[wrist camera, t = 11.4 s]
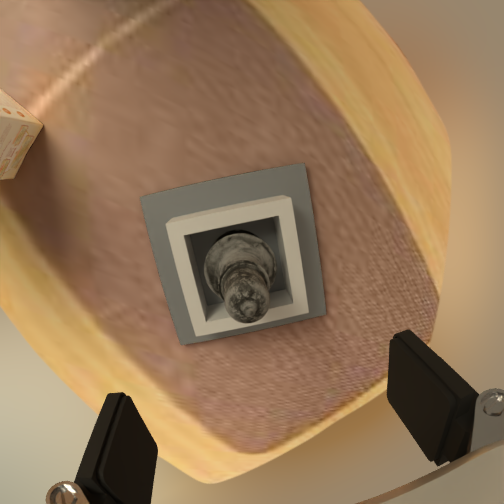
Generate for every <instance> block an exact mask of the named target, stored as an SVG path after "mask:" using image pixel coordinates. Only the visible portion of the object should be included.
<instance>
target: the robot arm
mask: <svg viewBox="0 0 504 504" xmlns="http://www.w3.org/2000/svg"><path fill="white" fill-rule="evenodd" d="M387 398H388V401H389V403H390V404H391V406H392V407H393V408H394V410H395V411H396V413H397V414H398V416H399V417H400V419H401V420H402V422H403V423H404V425H405V426H406V427H407V429H408V430H409V432H410V433H411V435H412V436H413V438H414V439H415V441H416V442H417V444H418V445H419V447H420V448H421V450H422V451H423V452H424V454H425V456H426V457H427V459H428V460H429V461H434V462H435V463H436V465H437V466H440V465H442V464H443V463H445V462H447V461H449V462H450V463H449V464H448V465H446V466H443V467H441V468H440V469H438V470H436V471H434V472H431V473H429V474H428V475H425V476H423V477H421V478H419V479H417V480H414V481H412V482H410V483H408V484H406V485H403V486H401V487H398V488H396V489H394V490H391V491H389V492H387V493H384V494H382V495H379V496H376V497H373V498H371V499H368V500H365V501H362V502H360V503H356V504H504V390H502V389H496V388H495V389H489V390H486V391H484V392H482V393H481V394H480V395H479V394H478V393H477V392H476V391H475V390H474V389H473V388H472V387H471V386H470V385H469V384H468V383H467V382H466V381H465V380H464V379H463V378H462V377H461V376H460V375H459V374H458V373H457V372H455V371H454V370H453V369H452V368H451V367H450V366H449V365H448V364H447V363H446V362H445V361H444V360H443V359H442V358H441V357H439V356H438V355H437V354H436V353H435V352H434V351H433V350H431V349H430V348H429V347H428V346H427V345H426V344H425V343H424V342H423V341H422V340H421V339H420V338H418V337H417V336H416V335H415V334H414V333H413V332H412V331H411V330H405V331H402V332H399V333H396V334H395V335H394V336H393V339H391V340H390V346H389V369H388V384H387ZM157 455H158V448H157V444H156V442H155V441H154V439H153V437H152V436H151V434H150V432H149V430H148V429H147V427H146V425H145V423H144V421H143V420H142V418H141V416H140V414H139V412H138V410H137V408H136V407H135V405H134V403H133V401H132V399H131V397H130V396H126V394H125V393H123V392H120V393H109V394H108V395H107V397H106V399H105V402H104V404H103V406H102V409H101V411H100V414H99V416H98V419H97V422H96V424H95V426H94V429H93V432H92V434H91V437H90V439H89V442H88V445H87V448H86V450H85V453H84V455H83V458H82V461H81V464H80V467H79V470H78V472H77V475H76V478H75V481H74V483H73V482H70V481H62V482H59V483H57V484H55V485H54V486H52V487H51V488H50V489H49V491H48V493H47V495H46V504H151V497H152V489H153V481H154V475H155V468H156V461H157Z"/></svg>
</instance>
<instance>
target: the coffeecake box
mask: <svg viewBox="0 0 504 504" xmlns="http://www.w3.org/2000/svg"><path fill="white" fill-rule="evenodd" d="M42 127H43V124H42V123H41V122H39V121H38V120H37V119H36V118H35V117H34V116H33V115H31V114H30V113H29V112H28V111H27V110H26V109H24V108H23V107H22V106H21V105H20V104H18V103H17V102H16V101H15V100H13V99H12V98H11V97H10V96H9V95H8V94H7V93H5V92H4V91H3V90H2V89H1V88H0V180H4V179H14V178H15V176H16V174H17V172H18V170H19V168H20V166H21V164H22V162H23V159H24V157H25V155H26V153H27V152H28V150H29V148H30V147H31V145H32V144H33V142H34V140H35V139H36V137H37V135H38V134H39V132H40V130H41V129H42Z"/></svg>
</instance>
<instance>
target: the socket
mask: <svg viewBox="0 0 504 504" xmlns="http://www.w3.org/2000/svg"><path fill="white" fill-rule="evenodd" d="M140 201H141V205H142V210H143V214H144V218H145V222H146V227H147V231H148V235H149V239H150V243H151V246H152V250H153V254H154V258H155V262H156V265H157V269H158V273H159V276H160V280H161V283H162V287H163V290H164V293H165V297H166V300H167V304H168V307H169V310H170V313H171V317H172V320H173V323H174V326H175V329H176V332H177V335H178V338H179V341H180V344H181V345H185V344H191V343H197V342H202V341H208V340H213V339H219V338H224V337H229V336H234V335H239V334H244V333H248V332H253V331H258V330H262V329H267V328H271V327H276V326H280V325H285V324H289V323H293V322H297V321H302V320H306V319H310V318H314V317H318V316H322V315H326V306H325V297H324V289H323V280H322V272H321V265H320V257H319V250H318V243H317V236H316V229H315V222H314V216H313V209H312V203H311V197H310V191H309V185H308V179H307V173H306V168H305V163H300V164H294V165H288V166H282V167H276V168H271V169H265V170H260V171H254V172H249V173H244V174H239V175H234V176H229V177H224V178H219V179H214V180H210V181H205V182H200V183H196V184H191V185H187V186H183V187H178V188H174V189H170V190H166V191H162V192H158V193H154V194H150V195H146V196H142V197H140ZM241 229H242V230H246V231H250V232H251V233H253V234H255V235H256V236H258V237H259V238H260V239H262V240H263V241H264V242H265V243H266V244H267V245H268V246H269V247H270V248H271V250H272V252H273V253H274V255H275V259H276V263H277V273H276V277H275V280H274V283H273V284H272V286H271V288H270V289H269V295H270V306H269V309H268V311H267V313H266V315H265V316H264V317H263V318H262V319H260V320H258V321H257V322H254V323H247V324H245V323H240V322H238V321H236V320H234V319H233V318H232V317H231V316H230V315H229V314H228V312H227V311H226V308H225V302H224V301H223V299H222V298H220V297H218V296H217V295H216V294H215V293H214V292H213V291H212V290H211V289H210V287H209V286H208V284H207V281H206V278H205V275H204V264H205V259H206V256H207V254H208V252H209V250H210V249H211V247H212V245H213V243H214V241H215V240H216V239H217V238H218V237H219V236H220V235H222V234H224V233H225V232H228V231H231V230H241Z"/></svg>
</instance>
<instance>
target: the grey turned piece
mask: <svg viewBox="0 0 504 504" xmlns="http://www.w3.org/2000/svg"><path fill="white" fill-rule="evenodd" d="M276 273H277V263H276V259H275V255H274V253H273V252H272V250H271V248H270V247H269V246H268V245H267V244H266V243H265V242H264V241H263V240H262V239H260V238H259V237H258V236H256V235H255V234H253V233H251V232H250V231H246V230H242V229H241V230H231V231H228V232H225V233H224V234H222V235H220V236H219V237H218V238H217V239H216V240H215V241H214V243H213V245H212V247H211V249H210V250H209V252H208V254H207V256H206V259H205V264H204V275H205V278H206V281H207V284H208V286H209V287H210V289H211V290H212V291H213V292H214V293H215V294H216V295H217V296H218V297H220V298H222V299H223V301H224V302H225V308H226V311H227V312H228V314H229V315H230V316H231V317H232V318H233V319H234V320H236V321H238V322H240V323H245V324H247V323H254V322H257V321H258V320H260V319H262V318H263V317H264V316H265V315H266V313H267V311H268V309H269V306H270V295H269V289H270V288H271V286H272V284H273V283H274V280H275V277H276Z"/></svg>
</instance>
